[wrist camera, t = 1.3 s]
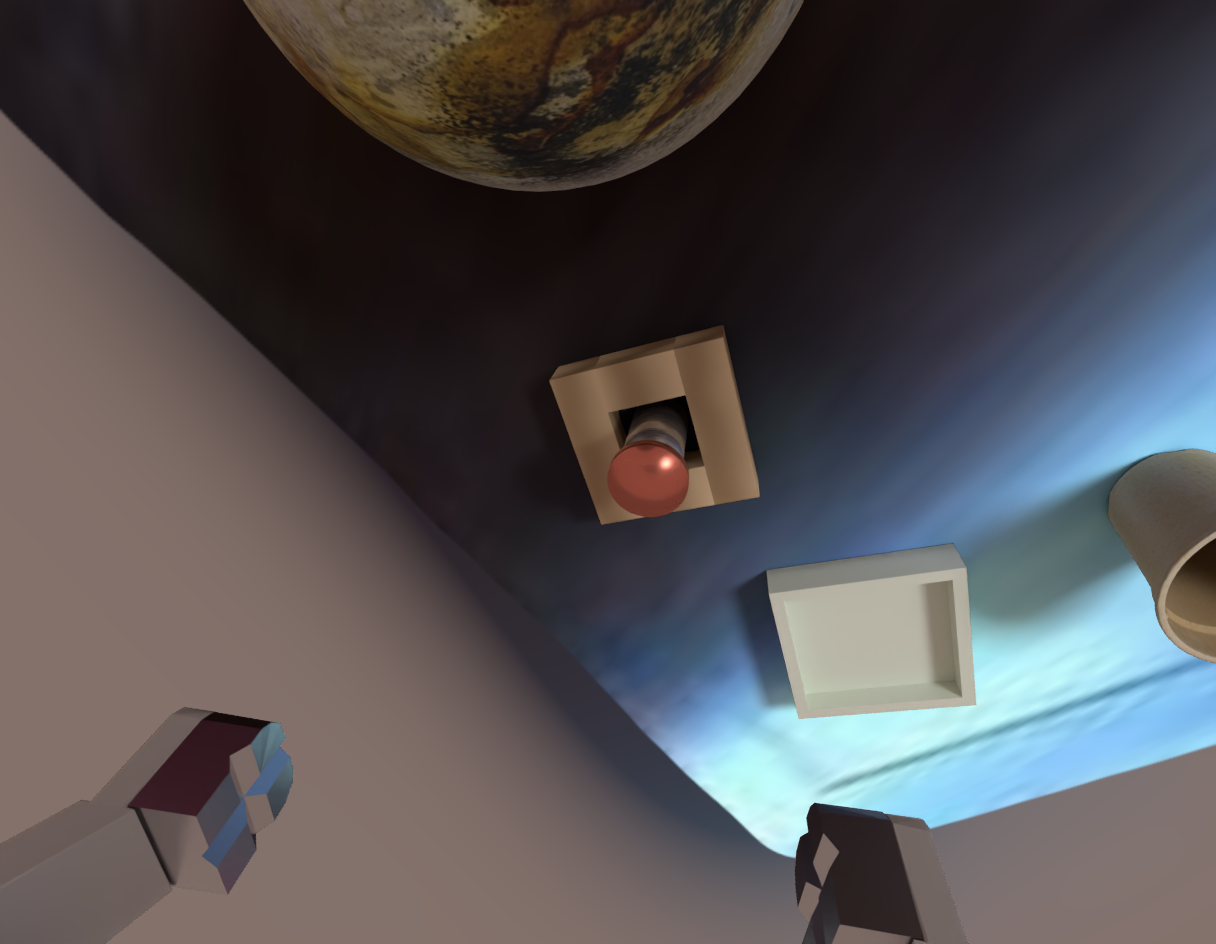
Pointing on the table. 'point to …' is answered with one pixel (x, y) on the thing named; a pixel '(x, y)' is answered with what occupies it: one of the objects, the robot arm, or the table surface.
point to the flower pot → (1174, 541)
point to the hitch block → (650, 377)
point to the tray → (876, 632)
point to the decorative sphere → (529, 77)
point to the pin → (652, 461)
